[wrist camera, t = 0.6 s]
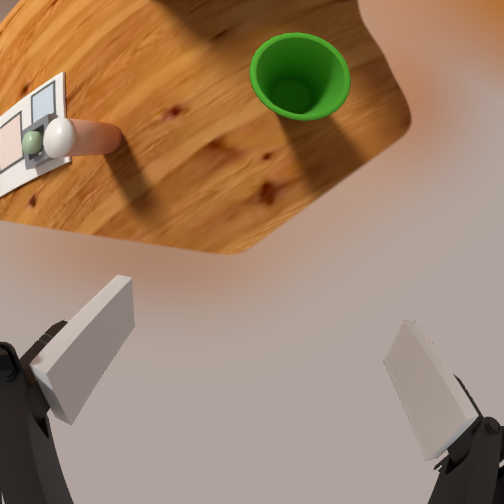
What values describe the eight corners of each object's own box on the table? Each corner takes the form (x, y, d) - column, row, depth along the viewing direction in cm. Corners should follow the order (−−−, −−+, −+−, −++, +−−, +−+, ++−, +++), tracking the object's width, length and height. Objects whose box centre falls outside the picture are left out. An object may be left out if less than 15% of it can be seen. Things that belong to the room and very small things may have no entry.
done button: (30, 136, 30) (21, 136, 28) (44, 127, 30) (34, 127, 27) (32, 156, 31) (23, 157, 29) (46, 149, 31) (36, 149, 28)
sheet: (-9, 126, 31) (-12, 126, 30) (64, 72, 29) (62, 71, 28) (-2, 198, 36) (-5, 199, 35) (71, 161, 34) (68, 161, 33)
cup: (314, 142, 32) (335, 135, 22) (244, 119, 31) (235, 101, 21) (334, 81, 29) (361, 53, 19) (267, 58, 28) (267, 20, 18)
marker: (96, 129, 32) (41, 126, 21) (121, 120, 32) (68, 111, 20) (100, 157, 34) (45, 163, 22) (125, 149, 33) (72, 150, 22)
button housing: (31, 130, 31) (22, 130, 29) (57, 114, 31) (47, 113, 28) (35, 168, 33) (26, 169, 31) (61, 155, 33) (51, 156, 30)
